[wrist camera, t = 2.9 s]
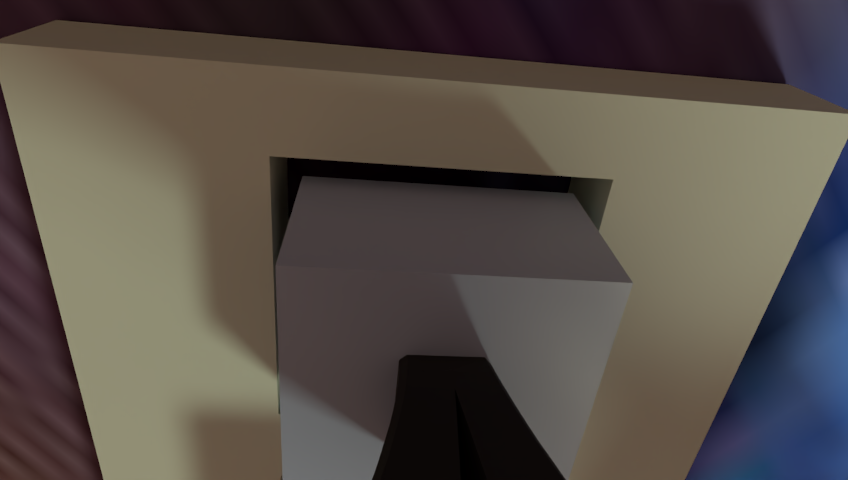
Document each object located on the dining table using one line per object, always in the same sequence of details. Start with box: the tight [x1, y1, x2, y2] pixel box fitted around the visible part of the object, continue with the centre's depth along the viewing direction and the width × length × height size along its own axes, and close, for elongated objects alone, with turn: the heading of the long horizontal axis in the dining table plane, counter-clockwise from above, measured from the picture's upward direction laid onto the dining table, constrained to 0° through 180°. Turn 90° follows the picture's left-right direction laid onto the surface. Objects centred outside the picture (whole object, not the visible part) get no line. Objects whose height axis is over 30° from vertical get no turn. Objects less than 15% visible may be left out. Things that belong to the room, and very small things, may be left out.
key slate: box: [276, 176, 633, 480], centre depth 11 cm, size 5×5×3 cm
